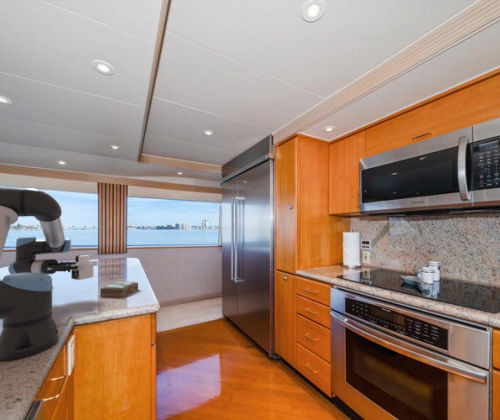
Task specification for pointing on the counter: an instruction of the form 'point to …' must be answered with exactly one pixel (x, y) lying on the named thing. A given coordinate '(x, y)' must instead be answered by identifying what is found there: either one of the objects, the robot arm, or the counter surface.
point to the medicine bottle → (82, 273)
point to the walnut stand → (119, 289)
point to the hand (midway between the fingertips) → (91, 265)
